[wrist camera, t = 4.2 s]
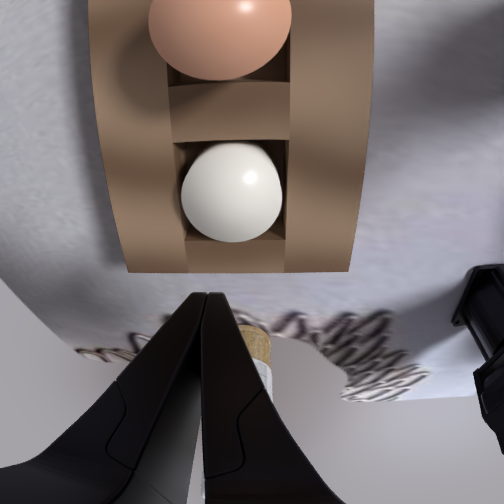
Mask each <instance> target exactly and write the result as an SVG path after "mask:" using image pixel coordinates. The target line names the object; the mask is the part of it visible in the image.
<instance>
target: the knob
mask: <svg viewBox="0 0 504 504" xmlns="http://www.w3.org/2000/svg"><path fill="white" fill-rule="evenodd" d="M181 200H182V206H183V209H184V212H185V214H186V216H187V218H188V219H189V221H190V222H191V223H192V225H193V226H194V227H195V228H196V229H197V230H199V231H200V232H201V233H203V234H204V235H206V236H208V237H210V238H212V239H215V240H219V241H223V242H242V241H247V240H250V239H253V238H255V237H257V236H259V235H261V234H262V233H264V232H265V231H266V230H267V229H269V228H270V227H271V225H272V224H273V223H274V222H275V220H276V218H277V217H278V214H279V212H280V209H281V204H282V191H281V186H280V181H279V176H278V171H277V166H276V162H275V160H274V158H273V156H272V154H271V153H270V151H269V150H268V149H267V148H266V147H265V146H264V145H263V144H262V143H260V142H259V141H257V140H255V139H253V140H213V141H211V142H209V143H208V144H206V145H205V146H204V147H203V148H202V150H201V151H200V152H199V154H198V155H197V157H196V159H195V161H194V162H193V164H192V166H191V168H190V170H189V172H188V174H187V175H186V177H185V180H184V182H183V186H182V192H181Z"/></svg>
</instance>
